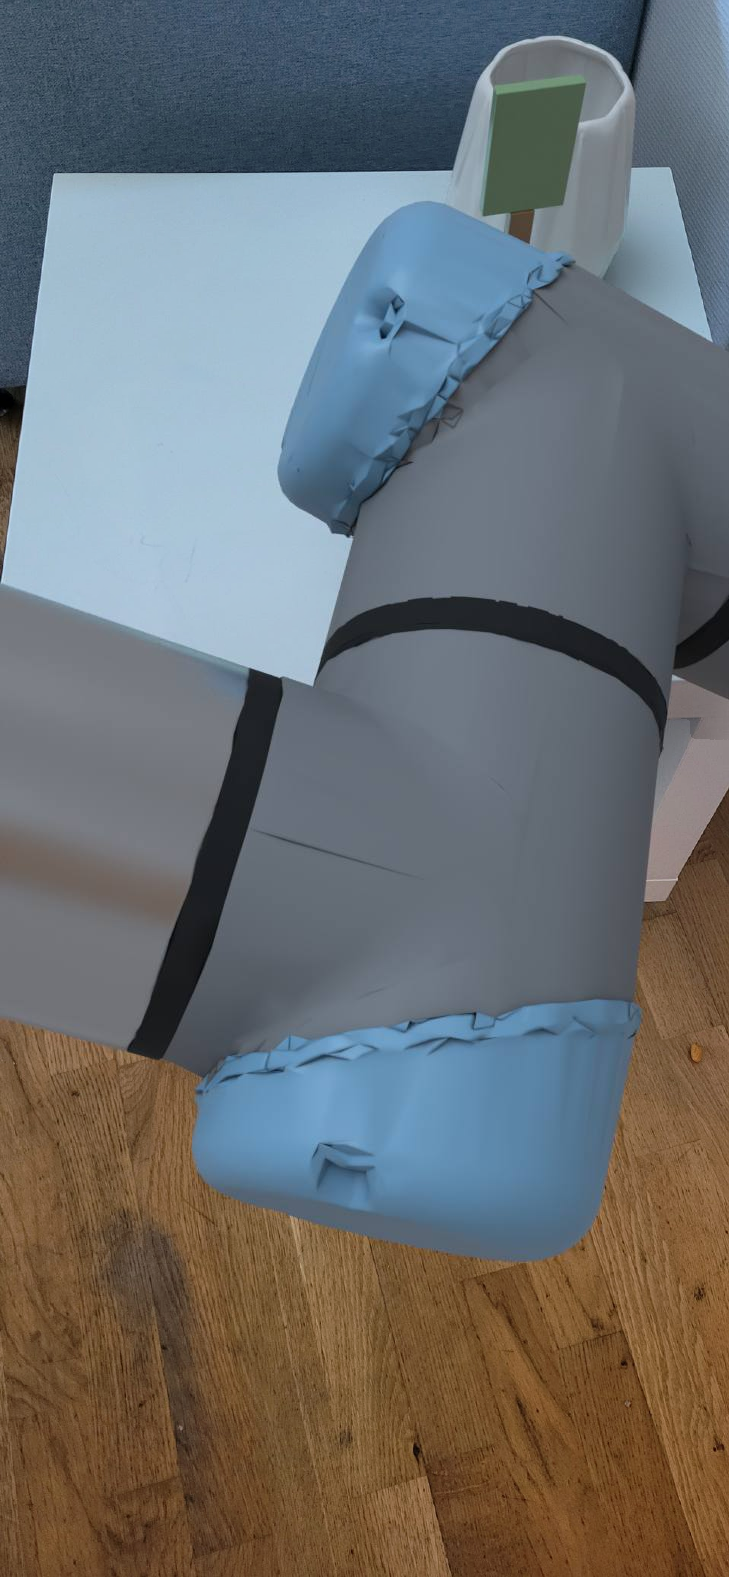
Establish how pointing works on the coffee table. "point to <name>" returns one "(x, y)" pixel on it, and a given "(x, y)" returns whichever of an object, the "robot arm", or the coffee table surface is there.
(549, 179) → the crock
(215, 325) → the coffee table surface
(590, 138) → the vase
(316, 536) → the coffee table surface
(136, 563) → the coffee table surface
